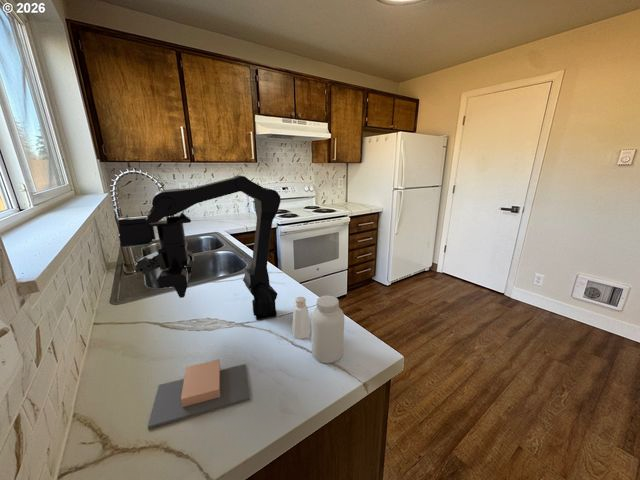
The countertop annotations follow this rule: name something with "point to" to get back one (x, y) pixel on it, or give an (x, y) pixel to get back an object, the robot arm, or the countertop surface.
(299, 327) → the pepper shaker
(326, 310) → the pill bottle
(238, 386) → the mat
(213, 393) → the tile
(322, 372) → the countertop surface
